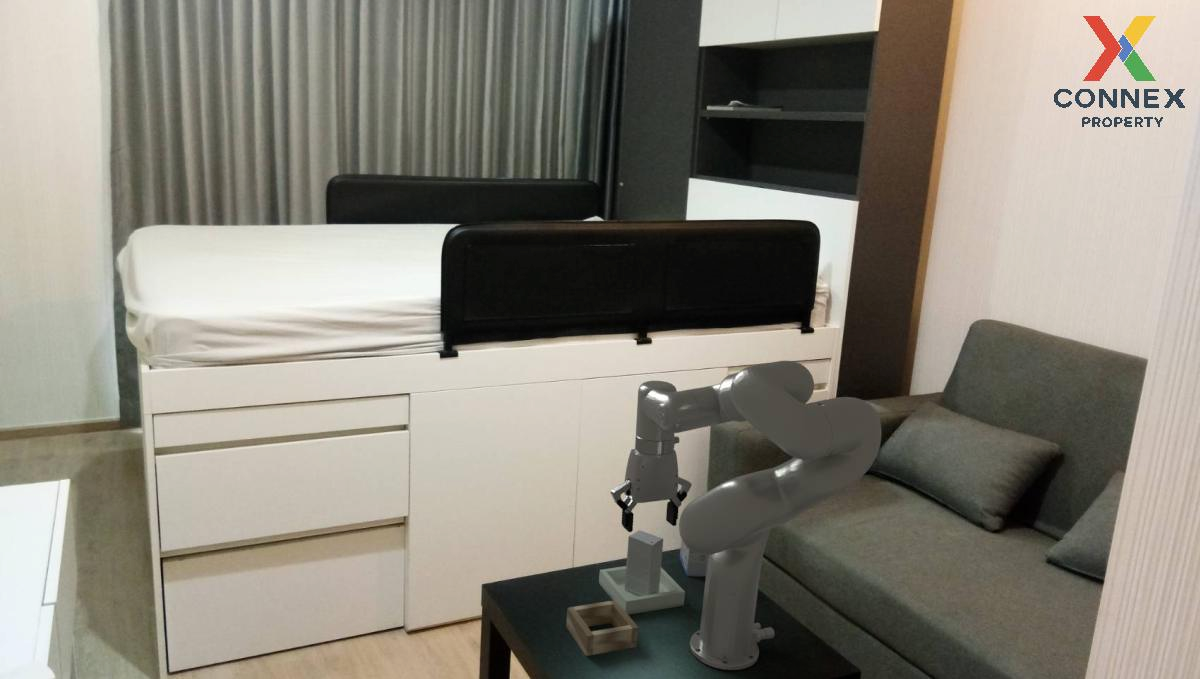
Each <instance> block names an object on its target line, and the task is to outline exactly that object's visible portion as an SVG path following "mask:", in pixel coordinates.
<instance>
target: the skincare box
mask: <svg viewBox="0 0 1200 679" xmlns="http://www.w3.org/2000/svg"><path fill="white" fill-rule="evenodd" d="M627 537H628V540H627V551H626V552H627V553H626V565H625V566H626V576H625V590H627V591H629V592H632V593H634V594H636V595H639V596H645V595H651V594H657V593H658V592H659V585H660V573H661V567H662V560H663V550H664V549H663V548H664V538H663V537H661V536H657V535H654V534H652V533H649V532H647V531H646V532H645V531H644V530H640V529H639V530H637V531H636V532H633V533H632V534H630V535H628V536H627Z"/></svg>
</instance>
